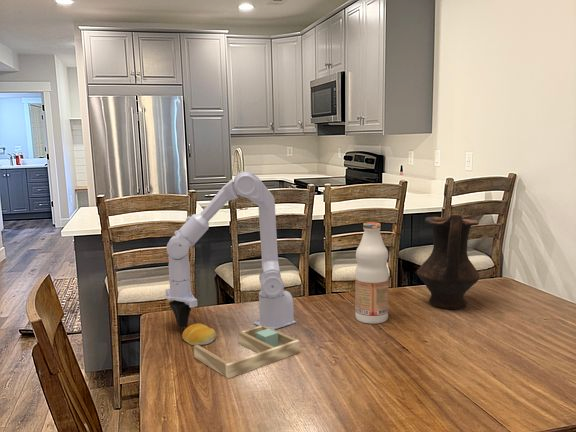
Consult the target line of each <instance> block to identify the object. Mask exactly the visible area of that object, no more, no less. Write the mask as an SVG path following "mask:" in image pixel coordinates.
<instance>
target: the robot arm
mask: <svg viewBox="0 0 576 432" xmlns="http://www.w3.org/2000/svg"><path fill="white" fill-rule="evenodd" d="M239 196H240V197H243V198H246V199H248V200H250V201H251V202H253V204H255V205H256V206H258V221H259V235H260V236H259V237H260V252H261V271H260V274H259V283H260V288H261V289H260V291H258V304H259V305H258V308H259V309H258V311H259V320H254V321H253V324H254V325H256V326H257V327H258V326H261V325H265V326H267V327H269V328H272V329H274V330H276V329H281V328H283V327H286V326H287V327H288V326H289V325H294V324H296V322H297V321H296V320H295V319H294V318H295V317H294V315H295V314H294V312H295V311H294V298H293V296H292V294H291V292H289V291H287V290H284V288H285V283H284V280H283V279H282V274H281V271H280V264H279V254H278V252H279V251H278V237H277V221H276V220H277V219H276V217H277V216H276V203H275V202H276V201H275V200H276V199H275V196H273V194H272V193H271V191H270V190H269V188H268V187H266V185H265V184H264V183H263V181H262V180H261V179H260V178H259V177H258V176H257V175H255V174H254V173H252V172H250V171H247V170H242V171H240V172H238V173H237V174H236V175H235V176H234V179H233V178H232V179H230V181H228V182H227V183H226V184H224V185H223V187H221V188H220V190H219V191H218V192H217V193H216V194H215V196H214V197H212V199H211V200H210V202H209V203H208V204H207V205H206V206H205V207H204V208H203V210H202V211H201V212H200V213H193V214H192V215H191V216H189V215H188V216H187V217H186V218H185V223H183V225H182V226H181V227H180V228H179V229H178V230H175V231H174V235H172V237H171V238H170V239H169V241H168V242H167V244H166V253H167V255H168V258H167V259H168V275H169V276H168V277H169V279H168V280H169V288H167V289H165V297H166V300H168V301H170V302H168V305H169V307H170V308H171V310H172V312H173V315H174V317H175V321H176V325H177V327H179V328H184V327H188V323H189V317H190V313H191V310H192V309H194V308H195V307H198V299H197V298H196V297H195V296H194V295H193V293H192V280H191V262H190V261H189V259H190V258H189V257H190V256H189V250H190V248H191V247H192V246H195V244H197V242H198V241H199V240H200V239H201V238H202V237H203V236H204V234H205V233H206V232H207V231H208V230H209V228H210V224H209V221H211V220H212V218H213V217H215V215H216V214H217V213H218V212H219V211H220V210H221V209H222V208H223V207H224V206H225V205H226V204H227V203H228V202H230V201H232V200H236V199H238V198H239Z"/></svg>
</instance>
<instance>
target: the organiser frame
mask: <svg viewBox="0 0 576 432" xmlns="http://www.w3.org/2000/svg"><path fill="white" fill-rule="evenodd" d="M266 329H270V330H273V331H275V332H277V333H278V346H277V347H273V346H271V345H269V344H267V343H265V342H263V341H261V340H259V339H256V332H259V331H262V330H266ZM237 335H238V336H237V338H238V344H239V345H241V346H243V347H245V348H247V349H248V350H251V351H252V352H255V353H254V354H251V355H248V356H246V357H242V358H240V359H236V360H233V361H231V362H228V361H226V360H224V359H223V358H222V357H219V356H218V355H216V354H214V353H213V352H211V351H210V350H207V349H206V348H204V347H202V345H193V355H194V356H193V357H194V358H195V359H196V360H197V361H199V362H201V363H203V364H204V365H206V366H208V367H209V368H210V369H212V370H214V371H216V372H218V374H220V375H222V376H223V377H225V378H226V379H230V378H235V377H236V375H237V376H239V375H241V374H244V373H247V371H248V372H250V371H252V370H256V369H259V368H261V367H264V366H266V365H269V364H272V363H274V362H277V361H280V360H283V359H285V358H288V357H290V356H291V357H292V356H293V355H297V354H299V353H301V341H300V340H299V339H297V338H294V337H292V336H290V335H288V334H285V333H284V332H281V331H278V330H276V329H272V328H269V327H267V326H265V325H261V326H258V325H257V326H256V327H255V326H254V327H251V328H249V329H248V328H247V329H245V330H241V331H238V333H237Z"/></svg>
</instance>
